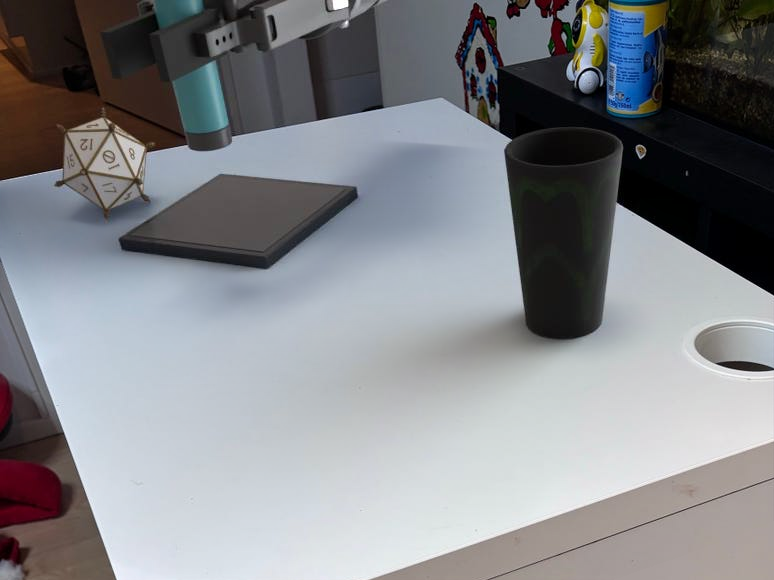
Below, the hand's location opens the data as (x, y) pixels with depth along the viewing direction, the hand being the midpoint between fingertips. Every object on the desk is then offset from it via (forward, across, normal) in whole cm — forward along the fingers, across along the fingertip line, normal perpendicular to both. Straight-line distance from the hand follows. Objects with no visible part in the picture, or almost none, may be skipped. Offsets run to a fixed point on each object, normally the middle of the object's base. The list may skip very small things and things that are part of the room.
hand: (135, 57), depth 65 cm
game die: (-17, +22, -18) cm, 33 cm away
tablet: (-17, +8, -18) cm, 26 cm away
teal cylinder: (-5, 0, -7) cm, 9 cm away
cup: (-8, -26, -18) cm, 33 cm away
